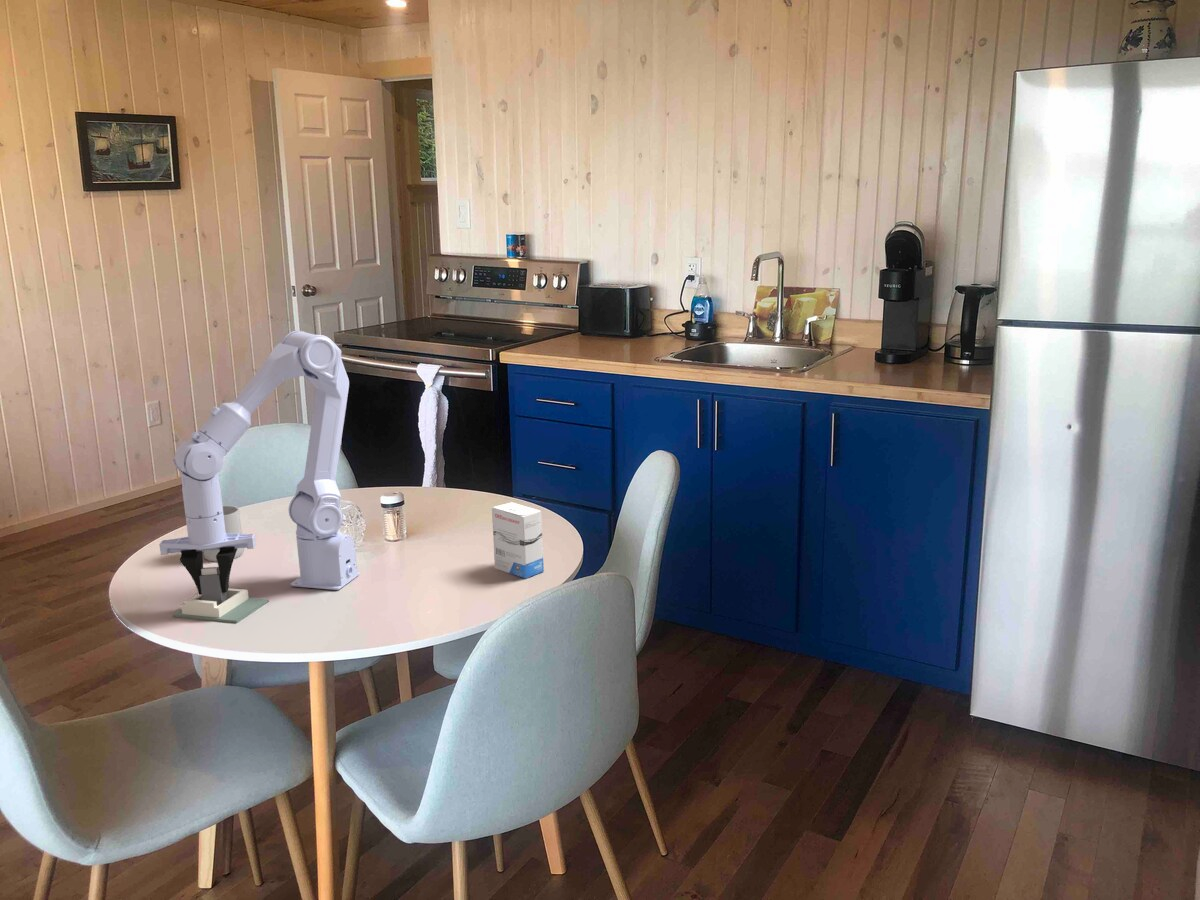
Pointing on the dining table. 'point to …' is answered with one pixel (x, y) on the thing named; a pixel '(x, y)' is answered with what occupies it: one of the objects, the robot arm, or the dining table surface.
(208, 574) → the plug
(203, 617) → the board
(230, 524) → the cup
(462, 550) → the dining table surface
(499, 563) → the ink box
